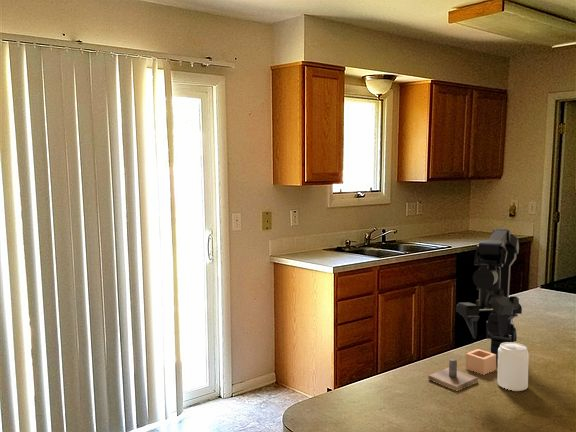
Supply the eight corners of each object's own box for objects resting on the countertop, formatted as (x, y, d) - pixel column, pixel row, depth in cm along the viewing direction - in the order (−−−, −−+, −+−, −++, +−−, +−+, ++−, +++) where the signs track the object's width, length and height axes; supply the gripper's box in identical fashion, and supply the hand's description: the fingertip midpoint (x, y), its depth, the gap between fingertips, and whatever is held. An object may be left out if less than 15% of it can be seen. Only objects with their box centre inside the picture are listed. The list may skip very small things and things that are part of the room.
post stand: (449, 371, 161) (449, 351, 160) (477, 382, 153) (477, 361, 152) (428, 380, 155) (428, 359, 155) (456, 391, 147) (456, 369, 147)
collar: (477, 363, 167) (478, 348, 166) (495, 369, 162) (496, 354, 161) (465, 368, 163) (465, 353, 162) (483, 375, 158) (484, 359, 157)
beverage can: (510, 394, 145) (510, 353, 143) (491, 382, 152) (492, 343, 151) (534, 390, 147) (535, 349, 146) (514, 379, 155) (515, 340, 153)
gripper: (479, 289, 140) (477, 346, 141) (536, 288, 145) (534, 343, 146) (455, 283, 151) (454, 336, 152) (509, 282, 156) (508, 333, 157)
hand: (488, 337), depth 151 cm, fingers open, 9 cm apart
